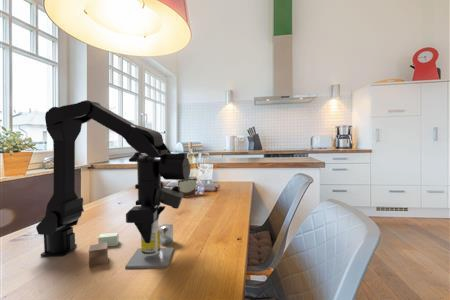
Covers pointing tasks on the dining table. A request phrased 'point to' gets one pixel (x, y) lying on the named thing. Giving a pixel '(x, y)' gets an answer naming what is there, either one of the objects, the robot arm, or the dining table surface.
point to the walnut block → (98, 254)
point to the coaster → (150, 259)
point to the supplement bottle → (152, 241)
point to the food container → (187, 186)
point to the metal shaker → (166, 234)
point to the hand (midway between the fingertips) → (150, 238)
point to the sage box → (109, 239)
